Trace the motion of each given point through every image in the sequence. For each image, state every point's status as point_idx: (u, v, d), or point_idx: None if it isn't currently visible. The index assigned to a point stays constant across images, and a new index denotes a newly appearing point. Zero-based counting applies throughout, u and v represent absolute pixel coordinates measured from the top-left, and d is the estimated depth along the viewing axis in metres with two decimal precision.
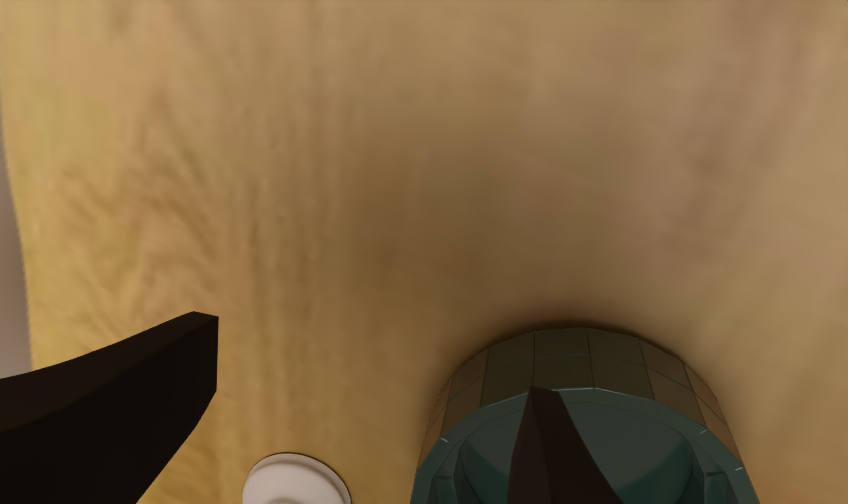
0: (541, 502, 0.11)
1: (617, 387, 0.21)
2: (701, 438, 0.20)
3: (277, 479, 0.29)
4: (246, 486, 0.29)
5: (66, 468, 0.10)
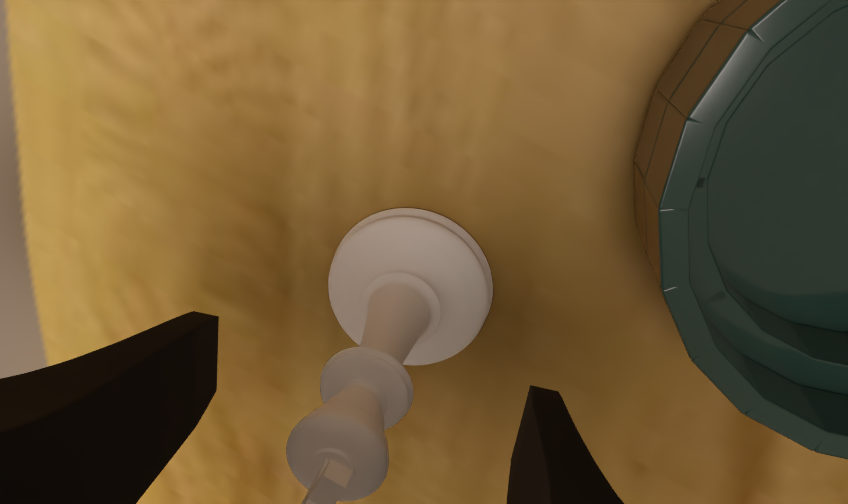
0: (541, 502, 0.11)
1: None
2: None
3: (387, 240, 0.19)
4: (336, 259, 0.19)
5: (65, 468, 0.10)
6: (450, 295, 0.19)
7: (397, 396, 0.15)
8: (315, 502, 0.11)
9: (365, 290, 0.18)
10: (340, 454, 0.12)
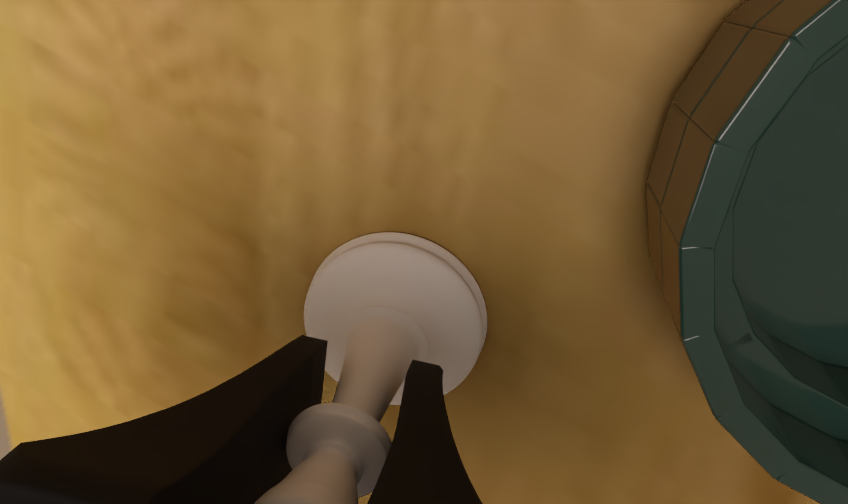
0: None
1: None
2: None
3: (368, 269, 0.16)
4: (312, 290, 0.17)
5: None
6: (438, 330, 0.17)
7: (374, 461, 0.12)
8: None
9: (343, 326, 0.16)
10: None
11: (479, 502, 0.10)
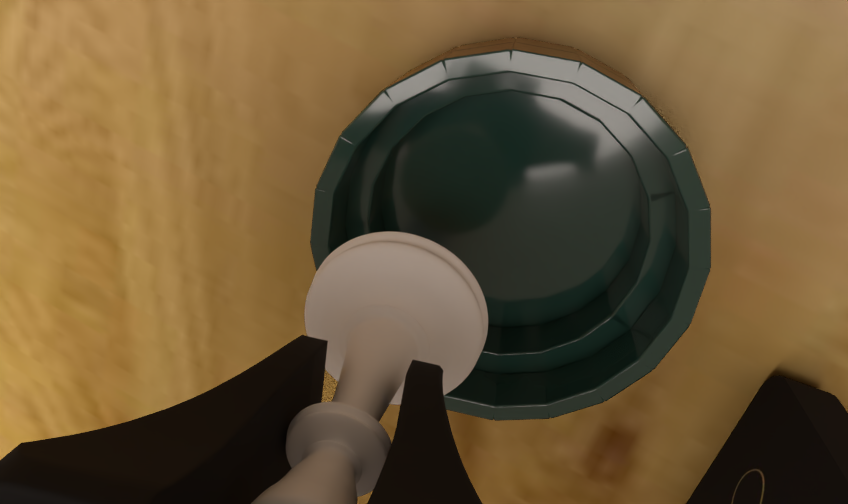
0: None
1: (539, 53, 0.18)
2: (637, 111, 0.17)
3: (369, 269, 0.16)
4: (313, 289, 0.17)
5: None
6: (439, 330, 0.17)
7: (374, 460, 0.12)
8: None
9: (344, 325, 0.16)
10: None
11: (479, 502, 0.10)
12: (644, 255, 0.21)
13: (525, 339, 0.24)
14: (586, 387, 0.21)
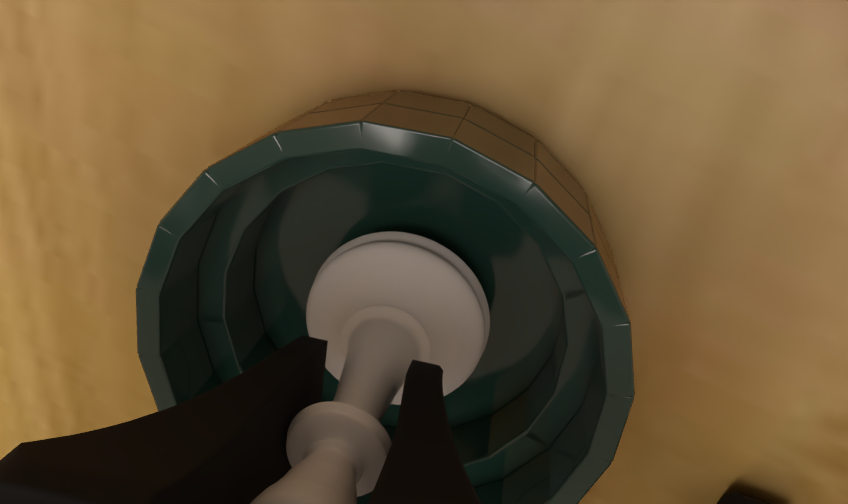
0: None
1: (400, 125, 0.13)
2: (528, 201, 0.13)
3: (371, 268, 0.16)
4: (314, 289, 0.17)
5: None
6: (441, 330, 0.17)
7: (374, 460, 0.12)
8: None
9: (345, 325, 0.16)
10: None
11: (479, 502, 0.10)
12: (561, 363, 0.17)
13: None
14: None
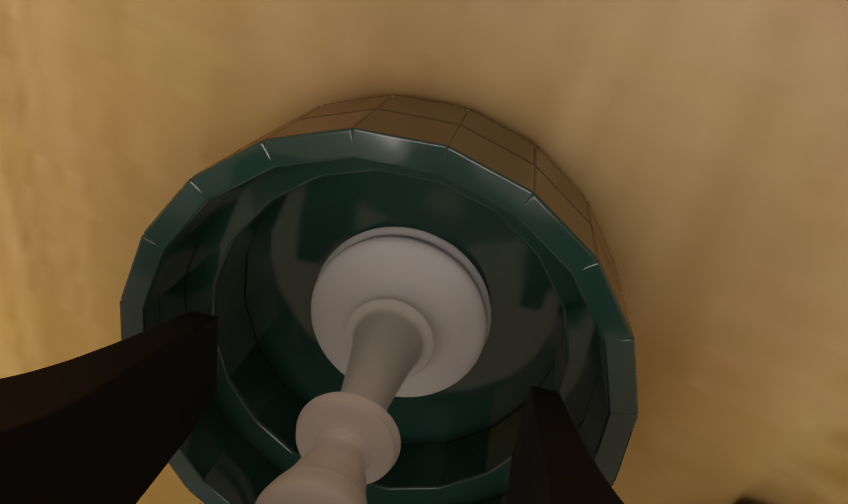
0: (541, 502, 0.11)
1: (393, 132, 0.13)
2: (527, 212, 0.13)
3: (375, 263, 0.17)
4: (319, 283, 0.17)
5: (65, 468, 0.10)
6: (444, 323, 0.17)
7: (382, 448, 0.13)
8: None
9: (350, 318, 0.17)
10: None
11: None
12: (562, 377, 0.16)
13: (425, 465, 0.19)
14: None
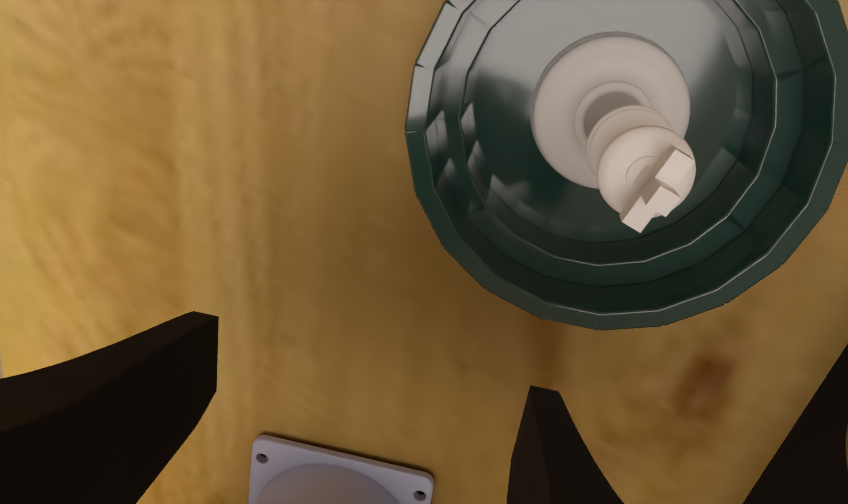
0: (541, 502, 0.11)
1: None
2: None
3: (601, 57, 0.20)
4: (546, 81, 0.21)
5: (66, 467, 0.10)
6: (657, 109, 0.20)
7: None
8: (662, 179, 0.13)
9: (582, 102, 0.20)
10: (660, 159, 0.14)
11: None
12: (766, 145, 0.19)
13: (623, 251, 0.22)
14: (704, 289, 0.19)
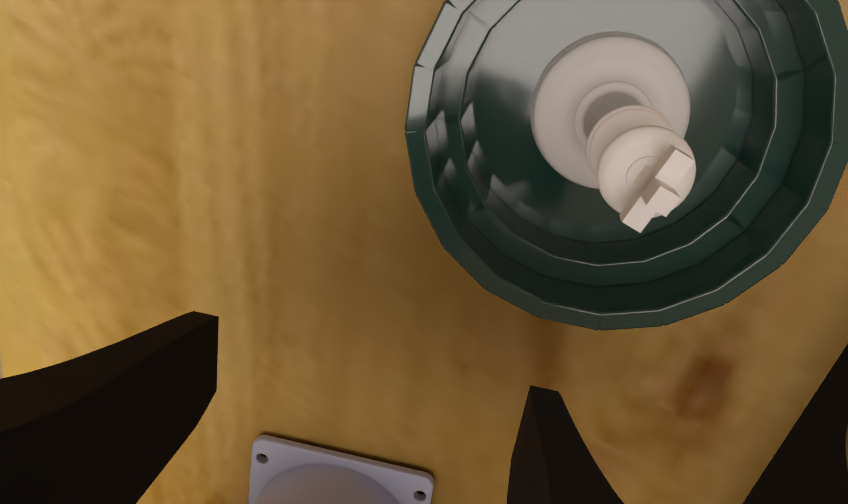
0: (541, 502, 0.11)
1: None
2: None
3: (601, 57, 0.20)
4: (546, 81, 0.21)
5: (65, 468, 0.10)
6: (657, 109, 0.20)
7: None
8: (662, 179, 0.13)
9: (582, 102, 0.20)
10: (660, 159, 0.14)
11: None
12: (766, 145, 0.19)
13: (623, 251, 0.22)
14: (704, 289, 0.19)
